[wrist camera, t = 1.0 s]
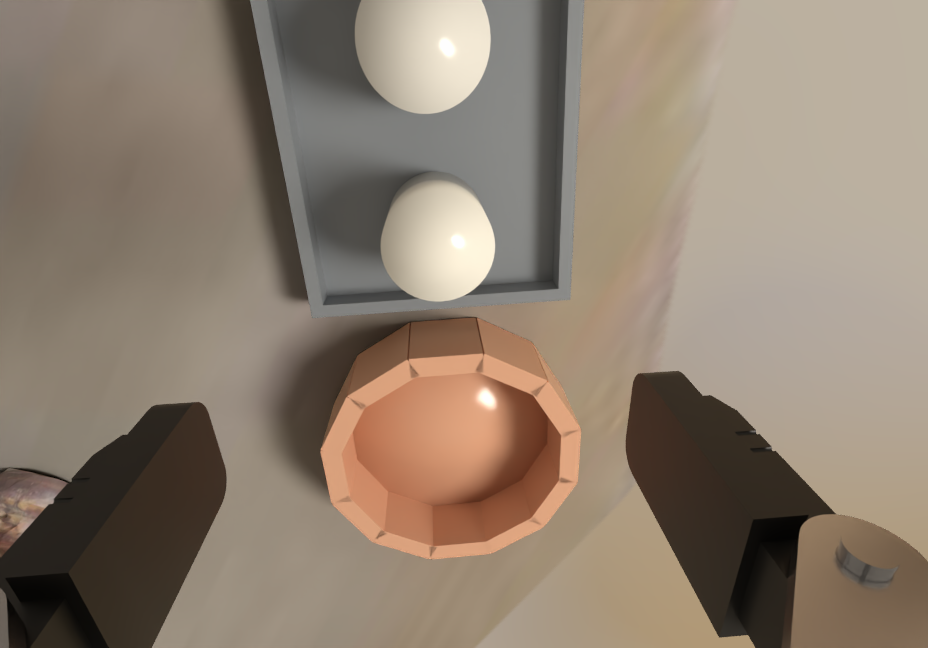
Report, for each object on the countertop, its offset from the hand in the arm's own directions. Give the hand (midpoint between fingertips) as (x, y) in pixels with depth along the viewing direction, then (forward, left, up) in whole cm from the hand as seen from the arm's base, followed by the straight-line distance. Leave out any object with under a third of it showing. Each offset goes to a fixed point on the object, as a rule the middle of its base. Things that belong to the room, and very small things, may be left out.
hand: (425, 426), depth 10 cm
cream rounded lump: (0, 0, -15) cm, 16 cm away
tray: (-4, 0, -16) cm, 17 cm away
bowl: (+12, 0, -16) cm, 20 cm away
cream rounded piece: (-7, 0, -15) cm, 17 cm away
